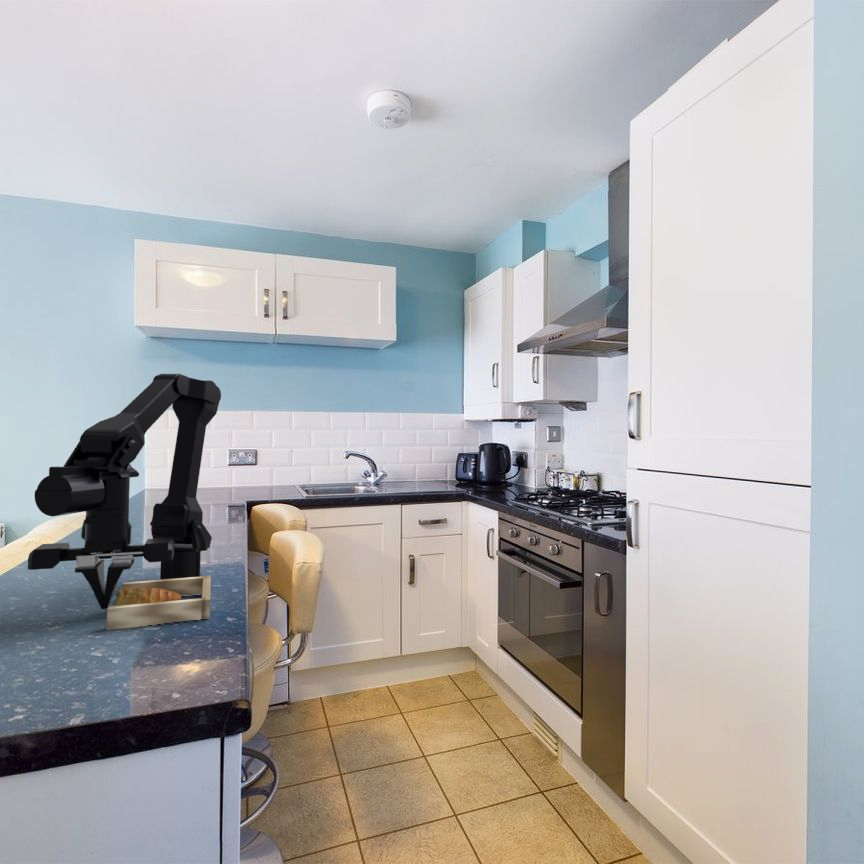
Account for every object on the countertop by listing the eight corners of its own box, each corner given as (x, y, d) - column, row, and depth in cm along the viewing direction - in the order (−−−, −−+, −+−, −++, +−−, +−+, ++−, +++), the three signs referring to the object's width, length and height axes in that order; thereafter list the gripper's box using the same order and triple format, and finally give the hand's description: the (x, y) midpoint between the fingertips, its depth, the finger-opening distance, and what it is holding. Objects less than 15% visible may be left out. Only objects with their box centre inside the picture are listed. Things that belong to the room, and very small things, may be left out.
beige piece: (210, 592, 94) (210, 575, 94) (209, 619, 80) (210, 599, 80) (123, 600, 89) (123, 582, 89) (106, 630, 75) (107, 609, 75)
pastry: (183, 601, 89) (183, 579, 90) (177, 614, 83) (178, 590, 83) (120, 606, 86) (121, 583, 86) (110, 620, 80) (110, 595, 80)
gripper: (177, 500, 93) (175, 589, 92) (50, 503, 85) (47, 599, 85) (173, 508, 82) (170, 608, 82) (28, 512, 75) (24, 621, 75)
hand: (104, 608), depth 81 cm, fingers closed
